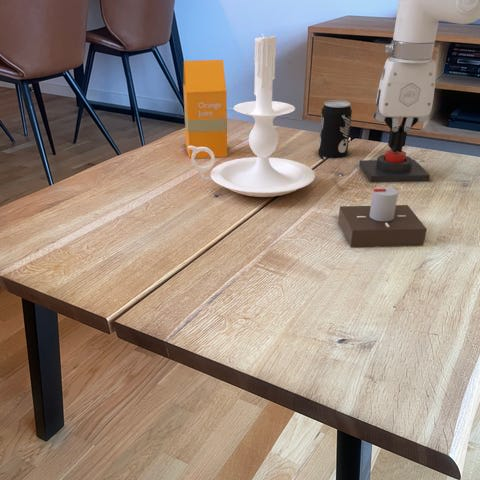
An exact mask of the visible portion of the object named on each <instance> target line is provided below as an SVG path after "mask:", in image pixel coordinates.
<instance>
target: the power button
mask: <svg viewBox="0 0 480 480" xmlns="http://www.w3.org/2000/svg"><path fill="white" fill-rule="evenodd" d="M385 154H386V156H385V160H386V161H388V162H395V163H402V162H405V157H406V156H407V152H406V151H404V150H402V152H398V151H396V152H393V151H392V150H391V149H388V150H386V152H385Z"/></svg>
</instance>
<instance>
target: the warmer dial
mask: <svg viewBox="0 0 480 480" xmlns="http://www.w3.org/2000/svg"><path fill="white" fill-rule="evenodd" d="M398 196H399V191H398V190H397V189H396V188H394V187H391V186H377V187H374V188H373V189H372V194H371V201H370V206H371V208H370V215H369V216H370V218H372V219H373V220H376V221H383V222H386V221H391V220H393V219H394V214H395V208H396V205H397V202H398Z"/></svg>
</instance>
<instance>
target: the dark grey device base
mask: <svg viewBox="0 0 480 480" xmlns="http://www.w3.org/2000/svg"><path fill="white" fill-rule="evenodd" d="M385 156H386V153H385V154H380V155H379V156H378V157H377V159H369V160H368V159H367V160H365V159H364V160H363V159H362V160H361V159H360V160H359V164H358V167H359V169H360V171H362V173H363V174H364V175H365V177H366V178H367V180H368V181H369V182H370V183H412V182H416V183H417V182H429V181H430V178H431V177H430V176H431V174H429V172H427V170H425V169H424V168H423V167H422V165H420V164H419V163H418V162H417V160H415V159H413V158H412V157H410V156H407V155H406V157H405V162H402V163H395V162H388V161H386V160H385Z"/></svg>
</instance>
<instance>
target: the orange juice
mask: <svg viewBox="0 0 480 480" xmlns="http://www.w3.org/2000/svg"><path fill="white" fill-rule="evenodd" d="M182 82H183V83H182V84H183V85H182V87H183V88H182V89H183V105H184V106H183V107H184V109H183V110H184V112H183V113H184V124H185V125H184V126H185V147H186V151H187V154H188V155H187V156H188V158H189V159H190V160H191V157H192V153H193V151H192V150H191V149H189V148H188V146H194V147H207V148H209V149H210V150H211V151H212V152H213V154H214V157H215V158H227V157H228V117H227V116H228V109H227V107H228V105H227V103H228V102H227V101H228V100H227V99H228V98H227V86H226V75H225V64H224V59H203V60H202V59H201V60H200V59H199V60H183V81H182ZM195 159H211V156H210V154H209V153H207V152H205V151H200V152H198V153H197V154H196V155H195Z"/></svg>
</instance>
